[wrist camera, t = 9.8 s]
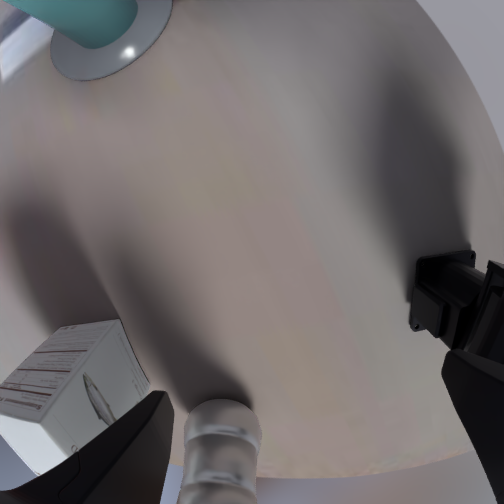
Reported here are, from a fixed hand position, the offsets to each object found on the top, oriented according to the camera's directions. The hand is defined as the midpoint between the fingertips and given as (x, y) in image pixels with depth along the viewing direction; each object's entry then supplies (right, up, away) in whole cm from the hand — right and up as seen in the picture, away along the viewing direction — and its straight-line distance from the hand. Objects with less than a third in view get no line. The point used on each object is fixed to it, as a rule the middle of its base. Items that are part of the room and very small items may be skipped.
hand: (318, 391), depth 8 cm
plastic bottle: (-4, -11, +17) cm, 20 cm away
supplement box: (-15, -5, +15) cm, 22 cm away
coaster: (-13, +22, +7) cm, 27 cm away
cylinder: (-13, +22, +7) cm, 27 cm away
